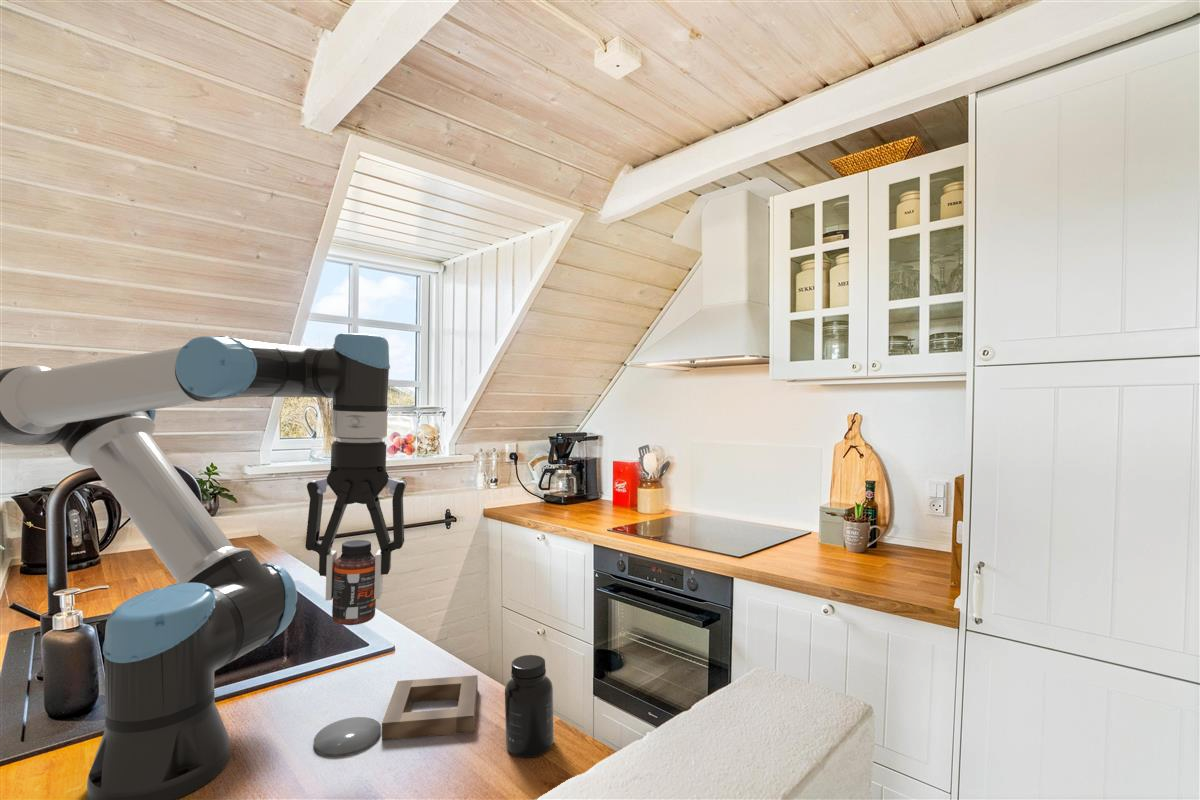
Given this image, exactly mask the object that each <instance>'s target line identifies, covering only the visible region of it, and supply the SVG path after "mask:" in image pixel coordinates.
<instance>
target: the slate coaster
mask: <svg viewBox="0 0 1200 800" xmlns="http://www.w3.org/2000/svg"><path fill="white" fill-rule="evenodd" d="M381 735H382V724H381V723H380V722H379V721H378V720H377V719H375V718H371V717H366V716H355V717H354V716H353V717H348V718H344V719H339V720H336V721H333V722H331V723H330V724H327V725H326V726H324V727H323V728H322V729H320V730H319V731H318V732H317V733H316V735H315V736H314V739H313V747H314V750H315V751H316V752H317V753H319V754H321V755H324V756H328V757H342V756H343V757H344V756H348V755H353V754H355V753H358V752H361V751H363V750H365V749H367V748H369V747H371V746H372V745H373V744H376V742H377V741H378V739H379V738H380V737H381Z"/></svg>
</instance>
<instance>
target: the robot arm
mask: <svg viewBox="0 0 1200 800" xmlns="http://www.w3.org/2000/svg"><path fill="white" fill-rule="evenodd" d="M389 345H390V344H389V342H388V340H387V339H386V338H385V337H383V336H381V335H377V334H369V333H351V332H346V333H345V332H344V333H338V334H336V336H335V337H334V342H333V345H332V346H331V347H330V346H328V347H318V346H317V347H316V346H303V345H302V346H300V345H291V344H290V345H289V344H284V343H281V344H280V343H273V342H263V341H257V340H256V341H255V340H250V339H249V340H248V339H241V338H240V339H239V338H235V337H229V336H227V335H218V336H217V335H216V336H214V335H213V336H210V335H209V336H208V335H206V336H205V335H202V336H197V337H194V338H191V339H190V340H189V341H188V342H186V344H185V345H183V346H181V347H175V348H170V349H169V348H167V349H162V350H158V351H156V350H155V351H151V352H146V353H140V354H135V355H129V356H128V355H127V356H121V357H115V358H110V359H105V360H99V361H98V360H97V361H92V362H86V363H80V364H75V365H70V366H63V367H57V368H49V367H47V366H42V365H32V364H31V365H24V366H17V367H9V368H2V369H0V443H3V444H7V445H13V446H45V445H47V446H48V445H60V446H61V447H63V449H64V450H65V451H66V453H67V455H69V457H70V458H71V460H72V461H73V462H74V463H76V464H78V465H82V466H91V467H92V469H94V471H95V472H96V473H97V474H98V476H99V478H100V479H101V480H102V481H103V483H104V485H106V487H107V488H108V490H109V491H110V492H111V494H112V495H113V496H114V498H115V499H116V501H117V502H118V503H119V505H120V506H121V507H122V509H123V510H124V511H125V514H127V516H128V517H129V518H130V520H131V521H132V523H133V524H134V525H135V528H137V529H138V531H139V532H140V534H141V535H142V536H143V537H144V540H145V541H147V543H148V545H150V547H151V548H152V550H153V552H154V553H155V554H156V555H157V557H158V558H159V560H160V561H161V562H162V563H163V565H164V566H165V567H166V569H167V570H168V571H169V573H170V574H171V576H172V578H174V580H175V581H176V583H173V584H169V585H166V586H165V587H162V588H159V587H157V588H153V589H150V590H147V591H144V592H142V593H140V594H137V595H135V596H133V597H131V598H128V599H126V600H125V601H123V602H122V603H121V604H119V605H118V606H117V607H116V608H115V609H114V610H112V612H111V613H110V615H109V616H108V617H107V620H106V622H105V628H104V629H105V631H104V632H105V634H104V641H103V643H102V655H103V658H104V663H103V664H104V715H105V716H104V723H105V724H104V732H103V735H102V737H101V740H100V742H99V745H98V749H97V751H96V754H95V755H94V758H93V759H94V760H93V762H92V764H91V767H90V770H89V773H88V776H87V779H86V780H87V781H86V799H87V800H177V799H179V798H182V797H185V796H186V795H188V794H190V793H192V792H194V791H196V790H198V789H199V788H201V787H203V786H205V785H206V784H207V783H209V782H211V781H212V780H213V779H214V778H215V777H216V776H217V775H219V774H220V773H221V772H222V771H223V770H224V769H225V767H226V766H227V764H228V762H229V761H230V757H231V756H230V755H231V754H230V753H231V752H230V751H231V750H230V749H231V748H230V747H231V745H230V742H231V741H230V740H231V739H230V736H229V733H228V730H227V729H226V726H225V724H224V721H223V719H222V716H221V714H220V712H219V709H218V708H217V704H216V701H215V672H216V671H217V670H219V669H221V668H222V667H224V666H226V665H228V664H230V663H232V662H233V661H235V660H237V659H239V658H241V657H242V656H245V655H246V654H248V653H250V652H251V651H254V650H255V649H257V648H260V647H262V646H263V647H264V646H265V645H267V644H268V643H270V642H271V640H273V639H274V638H275V637H277V636H278V635H280V634H281V633H283V632H284V631H285V630H286V629H287V628H288V627H289V625H290V624H291V623H292V621H293V619H294V618H295V617H294V616H295V615H296V614H295V613H296V611H297V602H298V590H297V587H296V584H295V581H294V579H293V577H292V575H291V574H290V573H289V572H288V571H287V570H286V569H285V568H284V567H282V566H281V565H279V564H272V563H268V562H265V563H261V562H260V561H259V559H258V558H257V557H256V555H254V553H253V552H252V550H251V549H250V548H247V547H246V548H244V547H235V546H234V545H233V544H232V542H231V541H230V539H228V537H227V536H226V534H225V533H224V532H223V530H222V529H221V527H219V525H218V524H217V521H215V520H214V518H213V517H212V516H211V514H210V513H209V512H208V510H207V509H206V508H205V506H204V505H203V504H202V502H201V501H200V500H199V498H198V497H197V496H196V494H195V493H194V492H193V491H192V489H191V488H190V486H189V485H188V484H187V483H186V481H185V480H184V479H183V477H182V476H181V474H180V473H179V472H178V471H177V469H176V468H175V466H174V465H173V463H171V461H170V459H168V457H167V455H165V453H164V451H163V450H162V449H161V448H160V447H159V445H158V444H157V443H156V441H155V440H154V439H153V437H152V436H153V434H154V431H155V429H156V424H155V419H156V418H155V417H156V414H157V413H156V412H157V411H156V410H158V409H159V410H160V409H164V408H165V409H166V408H172V407H173V408H174V407H179V406H184V405H192V404H198V403H199V404H200V403H202V402H203V403H204V402H212V401H215V402H216V401H220V400H228V399H233V398H234V399H236V398H252V397H253V398H255V397H258V398H265V397H266V398H275V397H276V398H280V397H281V398H293V397H295V398H325V399H332V416H331V422H332V423H331V436H332V437H333V438H335V440H333V442H332V443H331V446H330V447H331V451H330V453H331V454H330V470H329V473H328V475H327V477H325V478H321V479H313V480H311V481H309V482H308V483H307V484H306V490H307V493H308V496H309V507H308V516H307V528H306V536H305V544H304V545H305V549H306V551H313V552H316V553H317V554H318V556H319V558H318V574H319V576H320V577H325V600H324V601H333V581H334V580H333V579H334V563H335V561H336V559H337V558H338V555H337V552H338V551H337V550H331V549H332V548H333V543H334V542H335V540H336V536H337V533H338V530H339V528H340V525H341V522H342V519H343V517H344V514H345V511H346V509H347V506H348V505H353V504H360V505H365V506H366V508H367V511H368V512H369V515H370V519H371V523H372V525H373V529H374V532H375V535H376V538H377V542H378V545H379V548H380V549H378V550H377V552H376V553H375V556H374V557H375V585H374V599H376V600H379V599H381V596H382V594H383V587H384V586H383V584H384V583H383V582H384V575H388V574H389V572H390V570H391V568H392V567H391V566H392V552H393V551H395V550H400V549H401V548H402V547H403V545H404V543H405V522H404V521H405V519H404V517H405V516H404V494H405V491H406V488H407V481H406V480H405V479H401V480H399V479H398V480H397V479H394V478H391V477H390V476H389V474H388V472H387V469H386V468H387V443H386V442H385V441H384V440H383V439H385V438H386V437H387V436H388V411H389V410H388V392H389V377H390V376H389V375H390V374H389V373H390V369H391V365H390V354H389V353H390V348H389ZM327 486H329V488H330V489H331V491H333V493H334V494H335V496H336V497H337V498H336V500H335V504H334V505H333V511H332V512H331V515H330V518H329V522H328V524H327V526H326V529H325V532H324V534H323V537H322V540H320V534H321V533H320V532H321V521H322V513H323V502H324V494H325V493H326V492H327ZM386 486H387V488H389V490H388V491H389V494H391V495H392V501H391V502H392V503H391V504H392V505H391V506H392V528H393V529H392V531H393V539H392V540H391V538H390V534H389V532H388V528H387V525H386V520H385V518H384V514H383V510H382V507H381V502H380V498H379V495H380V494H381V492H382V491H383V490H384V488H385V487H386Z"/></svg>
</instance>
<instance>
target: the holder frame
mask: <svg viewBox="0 0 1200 800" xmlns="http://www.w3.org/2000/svg"><path fill="white" fill-rule="evenodd" d="M478 676H479V675H476V674H475V675H464V676H462V675H460V676H446V677H433V678H419V679H407V680H406V679H405V680H397V682H396V684H395V686H394V690H393V691H392V695H391V697H390V700H389V702H388V706H387V708H386V712H385V713H384V716H383V719H382V721H381V741H388V740H389V739H390V740H402V738H404V739H413V737H414V738H424V737H425V738H426V737H427V738H428V737H436V736H445V735H446V736H447V735H461V734H471V733H475V732H474V731H475V721H476V712H477V711H476V709H477V701H478V686H479V685H478V684H479V683H478ZM457 699H458V702H457V704H458V705H457V707H456V708H446V709H445V708H444V709H435V710H433V709H432V710H430V709H429V710H421V711H419V710H417V711H409V710H410V707H411V704H412V703H420V702H431V701H432V702H434V701H444V700H445V701H446V700H457Z"/></svg>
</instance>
